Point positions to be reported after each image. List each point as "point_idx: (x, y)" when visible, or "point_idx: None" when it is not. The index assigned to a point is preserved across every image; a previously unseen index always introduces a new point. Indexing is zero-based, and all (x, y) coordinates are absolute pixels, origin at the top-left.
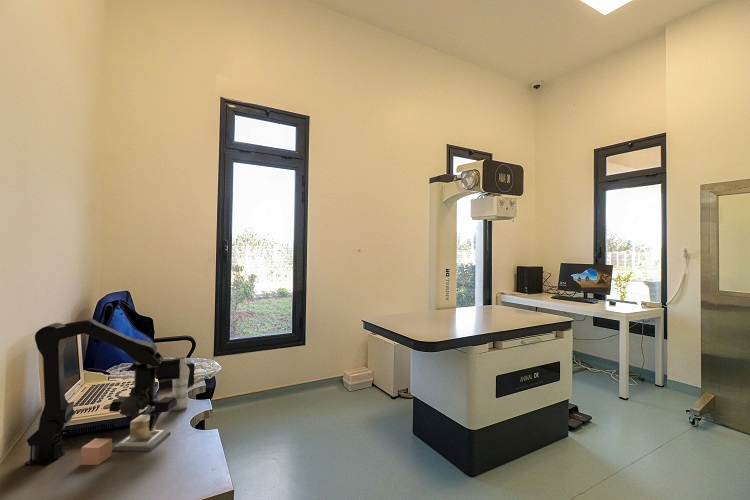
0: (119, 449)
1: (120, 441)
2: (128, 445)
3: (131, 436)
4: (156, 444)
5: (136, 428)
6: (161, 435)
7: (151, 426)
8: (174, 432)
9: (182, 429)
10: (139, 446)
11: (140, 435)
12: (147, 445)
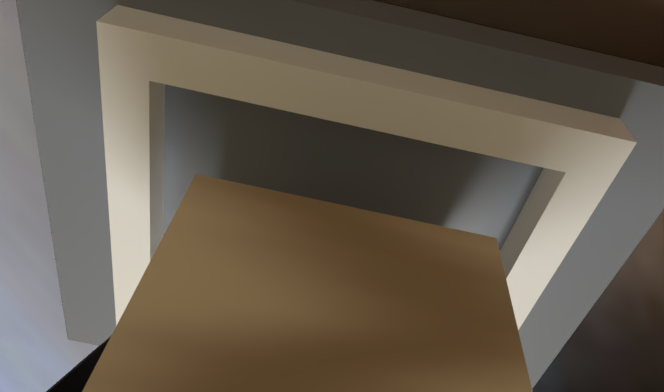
0: (603, 55)
1: (634, 247)
2: (469, 87)
3: (468, 247)
4: (40, 72)
5: (372, 362)
6: (110, 276)
7: (72, 371)
8: (66, 335)
9: (22, 368)
10: (259, 21)
11: (287, 222)
12: (113, 9)
